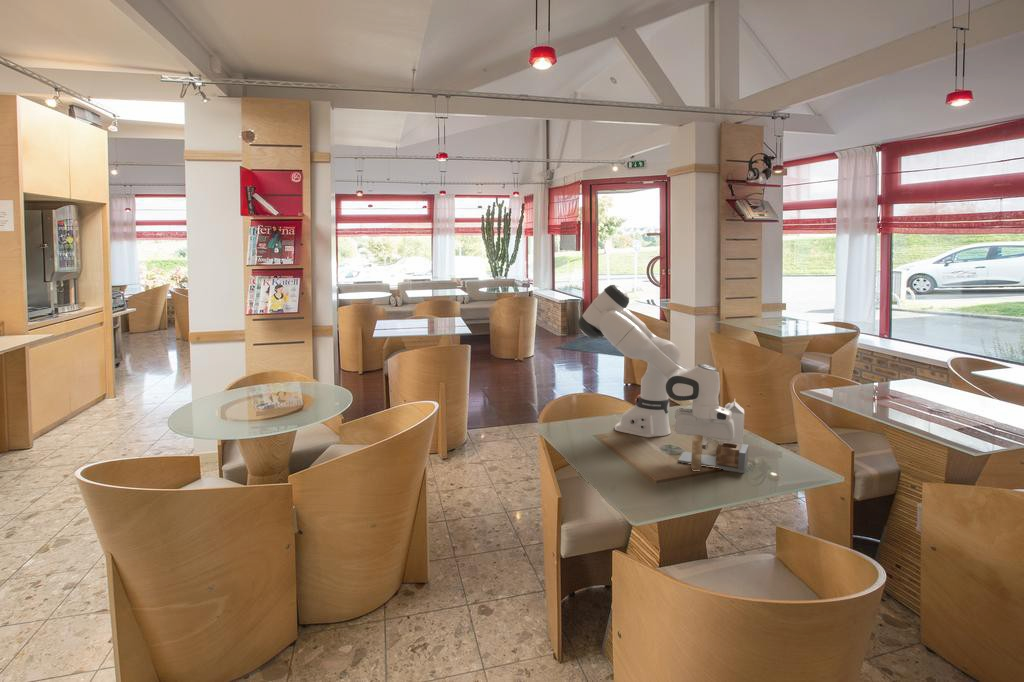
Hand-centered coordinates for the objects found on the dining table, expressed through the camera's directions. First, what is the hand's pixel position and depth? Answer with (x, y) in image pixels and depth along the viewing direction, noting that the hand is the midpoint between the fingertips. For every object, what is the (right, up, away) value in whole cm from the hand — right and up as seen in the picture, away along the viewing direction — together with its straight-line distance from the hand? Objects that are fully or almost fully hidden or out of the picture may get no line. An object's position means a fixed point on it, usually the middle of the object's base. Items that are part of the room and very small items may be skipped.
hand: (703, 448), depth 219 cm
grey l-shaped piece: (+3, -5, -1) cm, 6 cm away
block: (+8, -4, -4) cm, 9 cm away
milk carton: (+15, -3, +13) cm, 20 cm away
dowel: (-5, -6, -8) cm, 11 cm away
